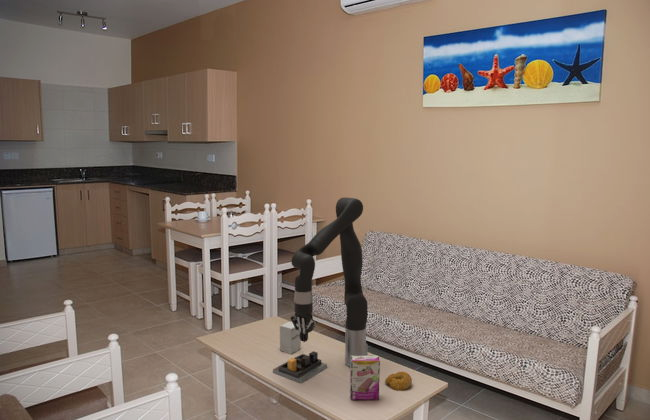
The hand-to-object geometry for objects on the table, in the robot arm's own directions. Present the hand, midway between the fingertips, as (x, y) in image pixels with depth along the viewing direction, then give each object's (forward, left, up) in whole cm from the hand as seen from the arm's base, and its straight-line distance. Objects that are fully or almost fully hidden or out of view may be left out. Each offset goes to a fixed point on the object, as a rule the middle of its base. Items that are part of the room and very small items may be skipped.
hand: (303, 340), depth 206 cm
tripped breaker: (+3, -6, -16) cm, 17 cm away
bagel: (-34, +20, -18) cm, 43 cm away
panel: (-1, -9, -17) cm, 19 cm away
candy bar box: (-16, +23, -17) cm, 33 cm away
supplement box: (-4, -31, -17) cm, 35 cm away
